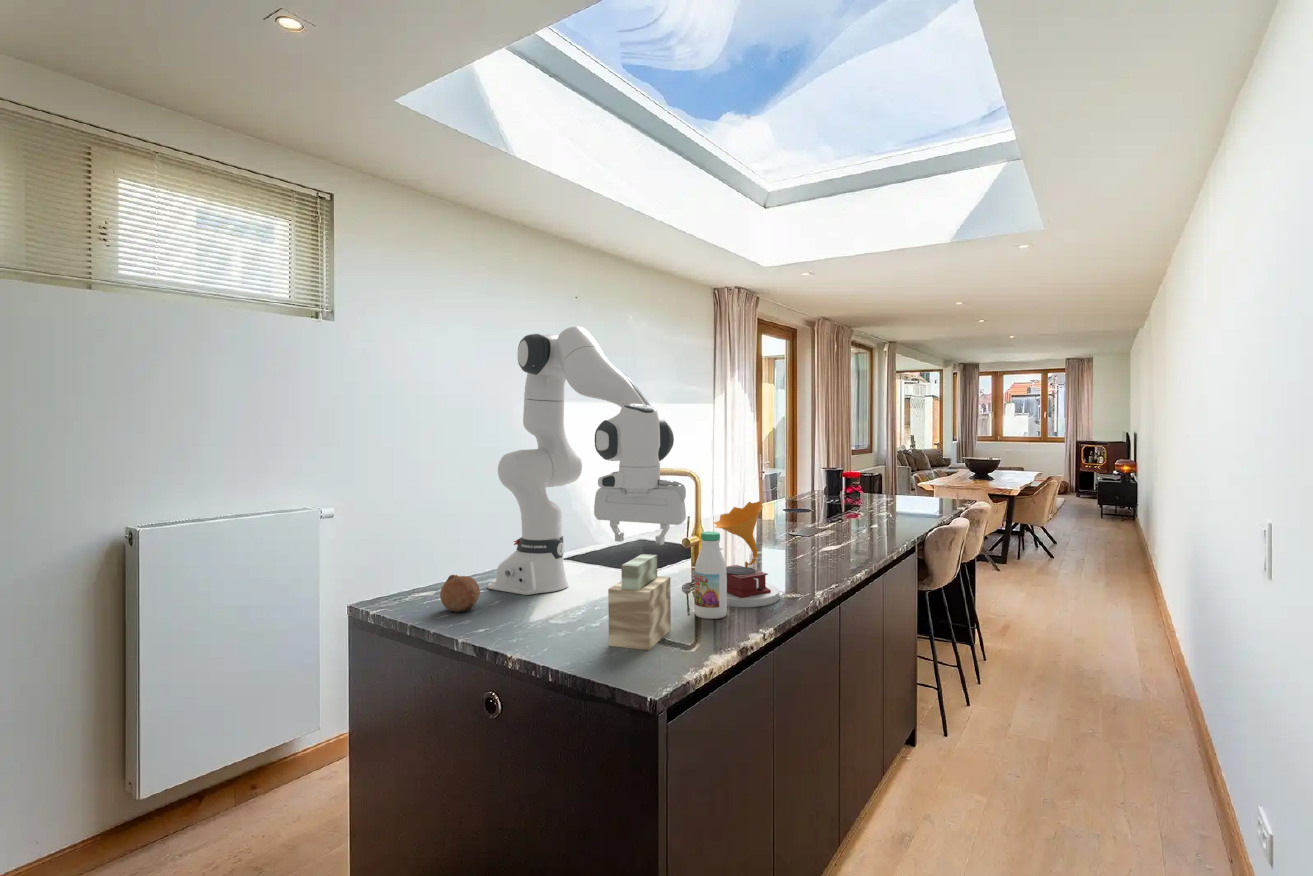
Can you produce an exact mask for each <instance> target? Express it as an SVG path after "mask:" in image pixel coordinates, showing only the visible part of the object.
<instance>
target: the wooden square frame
mask: <svg viewBox="0 0 1313 876" xmlns="http://www.w3.org/2000/svg"><path fill="white" fill-rule="evenodd" d="M607 590H608V592H607V593H608V595H607V596H608V598H607V599H608V600H607V601H608V602H607V603H608V604H607V605H608V646H609V647H610V646H611V647H619V648H624V649H625V648H626V649H634V650H642V651H643V650H645V651H650V650H651V649H652V648H653V647H654V646H656V644H658V642H660V641H661V639H663V638H664V637H665V636H666V635H667V634H668V633H669V632H670V631H671V629H672V626H671V625H672V624H671V623H672V622H671V613H672V612H671V605H672V604H671V603H672V602H671V576H661V575H657V578H655V579H654V580H652V582H651V583H650V584H648V585H647V586H645V587H644V588H640V589H639V590H629V589H622V580H621V581H619V582H617V583H616V584H613V585H612V586H610V587H609V588H608V589H607Z"/></svg>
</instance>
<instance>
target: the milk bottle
mask: <svg viewBox="0 0 1313 876" xmlns="http://www.w3.org/2000/svg"><path fill="white" fill-rule="evenodd" d="M700 539H701V540H700V542H701V548H700V552H699V554H698V556H697V559H696V560H695V566H694V613H695V614H694V615H695V616H696V617H697V618H701V619H706V620H707V619H709V620H716V619H721V618H724V617H726V616H727V613H728V611H727V609H728V606H727V573H726V565H727V564H726V561H725V558H724V556H723V553H722V552H721V548H720V542H721V534H720V532H718V531H703V532H701V533H700Z"/></svg>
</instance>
